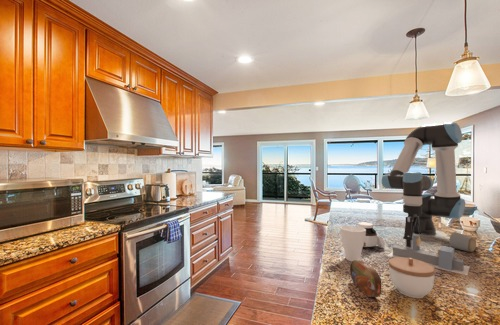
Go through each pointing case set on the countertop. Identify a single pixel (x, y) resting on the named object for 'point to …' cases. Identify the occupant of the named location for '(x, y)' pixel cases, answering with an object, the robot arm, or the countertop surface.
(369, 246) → the spread jar
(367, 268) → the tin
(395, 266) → the lidded bowl
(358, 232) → the cup
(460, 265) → the rail board
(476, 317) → the countertop surface
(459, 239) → the grey cylinder
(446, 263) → the fitted finger
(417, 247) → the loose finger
